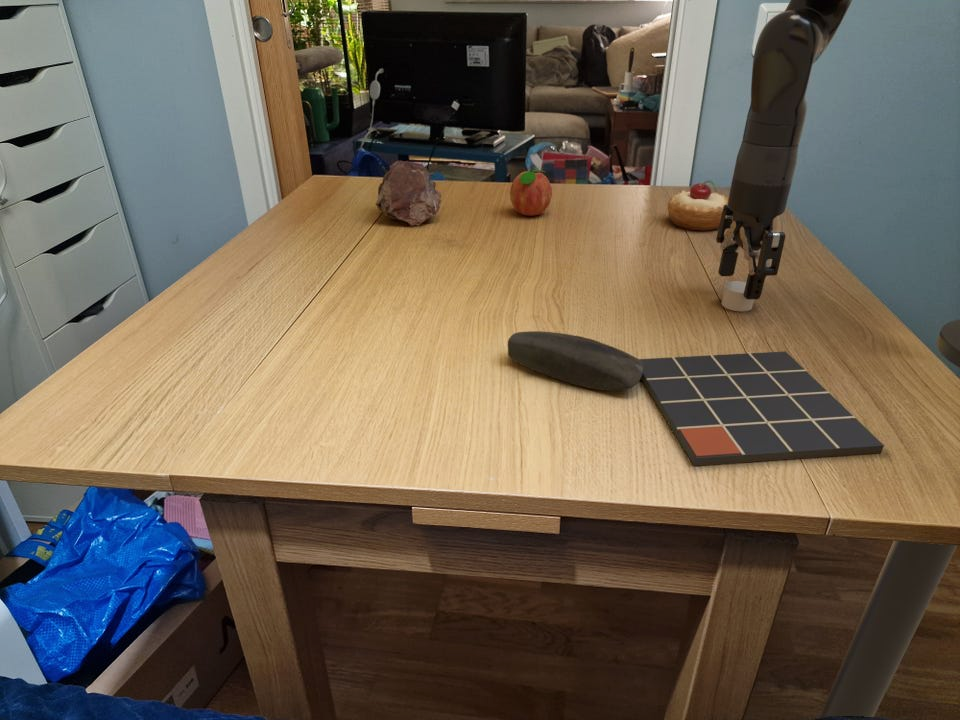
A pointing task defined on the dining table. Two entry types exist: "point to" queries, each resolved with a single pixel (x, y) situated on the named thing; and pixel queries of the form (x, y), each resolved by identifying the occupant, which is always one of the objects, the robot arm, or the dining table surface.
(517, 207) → the fruit
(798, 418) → the board
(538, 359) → the dark glasses case
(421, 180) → the mineral specimen
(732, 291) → the white short cylinder
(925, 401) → the dining table surface
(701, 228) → the pastry
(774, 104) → the robot arm
